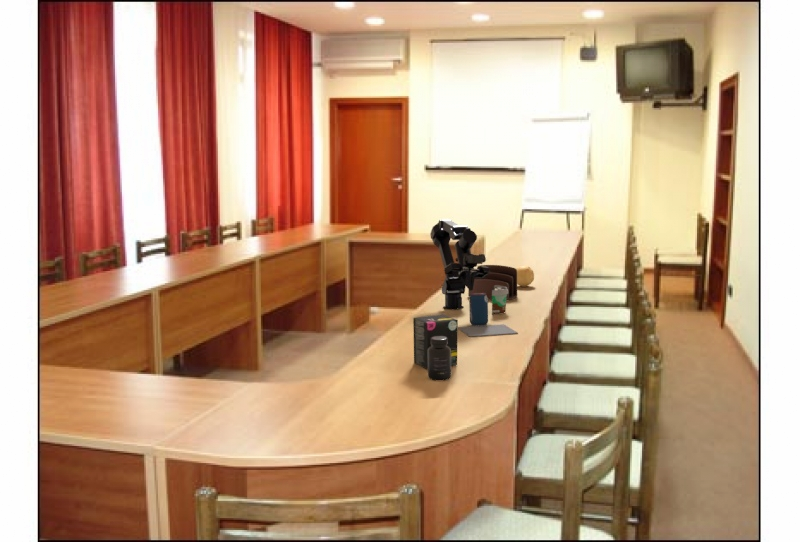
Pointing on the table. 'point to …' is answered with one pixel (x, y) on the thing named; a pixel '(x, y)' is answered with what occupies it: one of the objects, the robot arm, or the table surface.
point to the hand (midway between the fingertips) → (471, 290)
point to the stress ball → (524, 276)
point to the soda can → (478, 309)
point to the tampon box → (430, 328)
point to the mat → (487, 330)
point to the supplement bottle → (439, 359)
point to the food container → (499, 299)
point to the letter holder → (497, 281)
